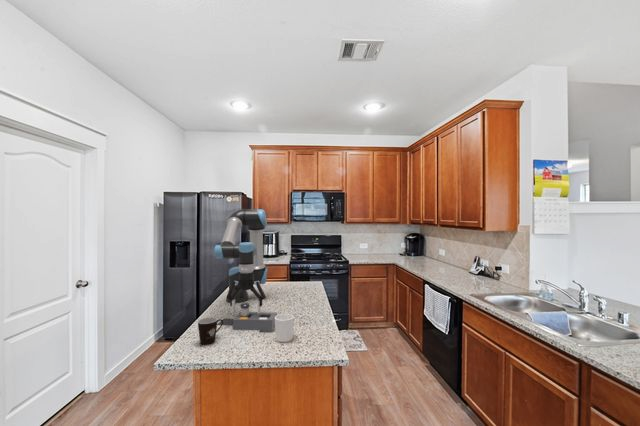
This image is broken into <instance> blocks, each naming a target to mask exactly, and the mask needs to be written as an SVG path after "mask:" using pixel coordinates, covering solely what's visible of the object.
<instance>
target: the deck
mask: <svg viewBox="0 0 640 426" xmlns="http://www.w3.org/2000/svg"><path fill="white" fill-rule="evenodd" d="M233 319H234V318H223V319H222V320H223V325H222V326H233ZM221 324H222V321H218V322H217V326H221Z"/></svg>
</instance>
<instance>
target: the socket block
mask: <svg viewBox="0 0 640 426" xmlns="http://www.w3.org/2000/svg"><path fill="white" fill-rule="evenodd" d="M277 315H278V312H274V311H273V312H267V311H266V312H262V311H260V313H258V311H257V312H256V311H254V312H253V311H252V312H251V311H249V318H248V317H241V311H240V312H239V313H238V314H237V315H236V316H235V317H234V318H232V319H233V325H232V330H233V331H259V333H273V332H274V331H275V316H277Z"/></svg>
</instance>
